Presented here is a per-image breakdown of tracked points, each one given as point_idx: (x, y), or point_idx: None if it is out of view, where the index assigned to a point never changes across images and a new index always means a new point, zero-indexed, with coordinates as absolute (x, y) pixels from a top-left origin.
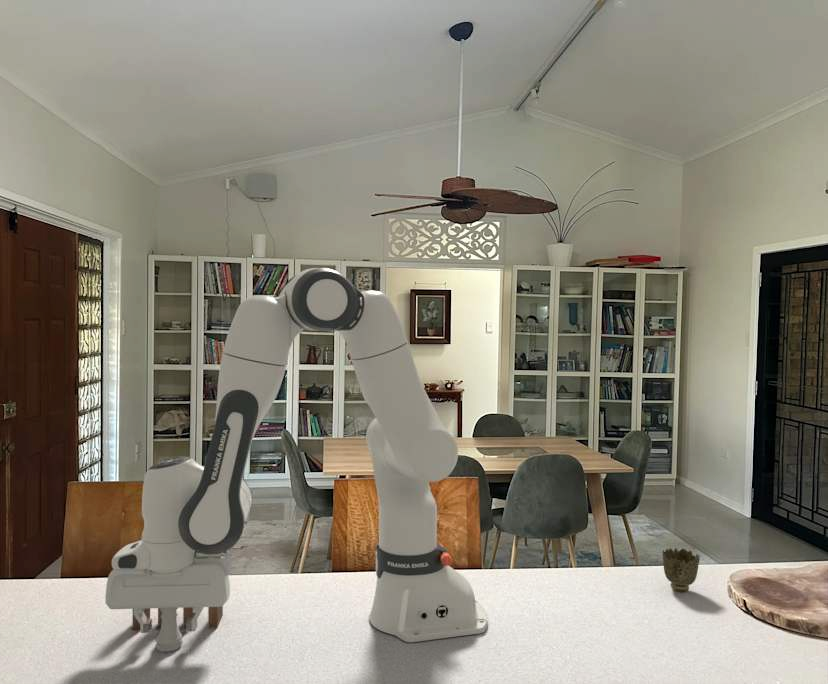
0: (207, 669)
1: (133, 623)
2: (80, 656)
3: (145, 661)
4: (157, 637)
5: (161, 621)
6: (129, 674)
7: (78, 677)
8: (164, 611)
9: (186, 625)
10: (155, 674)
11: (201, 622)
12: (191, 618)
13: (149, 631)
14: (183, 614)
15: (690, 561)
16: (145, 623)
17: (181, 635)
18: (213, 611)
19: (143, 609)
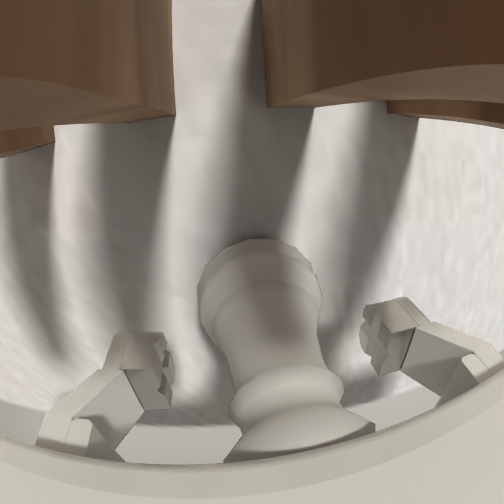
0: (394, 375)
1: (7, 155)
2: (7, 342)
3: (208, 375)
4: (210, 334)
5: (134, 118)
6: (197, 419)
7: None
8: None
9: (374, 365)
10: None
11: None
12: (405, 337)
13: (172, 367)
14: (289, 101)
15: None
16: (150, 409)
17: (321, 299)
18: (462, 120)
19: (112, 459)
